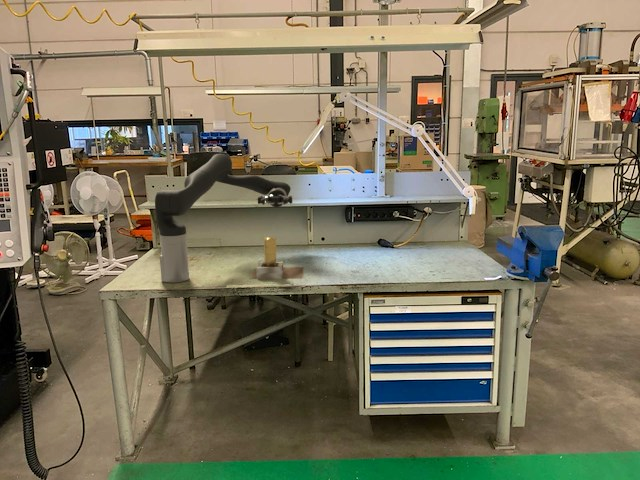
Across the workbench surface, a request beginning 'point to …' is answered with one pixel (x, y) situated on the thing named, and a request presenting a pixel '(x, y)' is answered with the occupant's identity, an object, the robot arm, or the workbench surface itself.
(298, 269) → the socket block
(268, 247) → the golden metal peg
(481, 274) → the workbench surface
